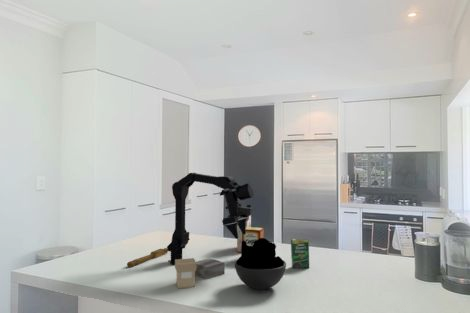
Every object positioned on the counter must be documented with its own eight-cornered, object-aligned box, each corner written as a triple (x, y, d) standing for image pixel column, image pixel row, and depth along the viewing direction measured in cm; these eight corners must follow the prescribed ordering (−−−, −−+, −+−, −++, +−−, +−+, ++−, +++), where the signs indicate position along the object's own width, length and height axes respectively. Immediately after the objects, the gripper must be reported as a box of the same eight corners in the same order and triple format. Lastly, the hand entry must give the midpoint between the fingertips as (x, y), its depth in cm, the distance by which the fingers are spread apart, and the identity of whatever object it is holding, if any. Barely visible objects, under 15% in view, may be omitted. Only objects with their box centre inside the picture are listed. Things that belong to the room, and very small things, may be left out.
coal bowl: (288, 281, 145) (287, 235, 146) (283, 300, 126) (283, 247, 126) (240, 278, 150) (240, 233, 150) (229, 295, 130) (229, 244, 131)
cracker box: (247, 253, 191) (247, 214, 191) (236, 252, 192) (236, 213, 192) (251, 246, 205) (251, 210, 205) (241, 246, 206) (241, 210, 206)
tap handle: (126, 261, 166) (164, 247, 193) (126, 267, 166) (164, 252, 193) (131, 262, 164) (169, 247, 192) (131, 268, 164) (169, 253, 192)
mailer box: (176, 283, 144) (176, 260, 144) (192, 281, 145) (192, 259, 146) (178, 288, 137) (178, 265, 138) (194, 286, 139) (194, 264, 139)
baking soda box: (242, 260, 176) (241, 228, 176) (246, 257, 182) (246, 226, 182) (260, 262, 173) (260, 229, 173) (263, 259, 179) (263, 227, 179)
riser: (192, 273, 156) (192, 262, 156) (210, 268, 162) (210, 258, 163) (206, 279, 148) (206, 267, 148) (224, 273, 155) (224, 262, 155)
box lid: (174, 266, 144) (174, 259, 144) (193, 265, 146) (193, 258, 146) (176, 272, 137) (176, 264, 137) (196, 270, 139) (196, 263, 139)
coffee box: (292, 268, 163) (292, 240, 163) (290, 266, 166) (290, 238, 166) (309, 268, 163) (309, 239, 163) (308, 266, 166) (307, 238, 166)
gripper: (240, 201, 151) (249, 237, 149) (255, 196, 168) (263, 229, 166) (218, 206, 155) (226, 241, 153) (234, 202, 172) (242, 233, 170)
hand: (240, 236), depth 160 cm, fingers open, 9 cm apart
